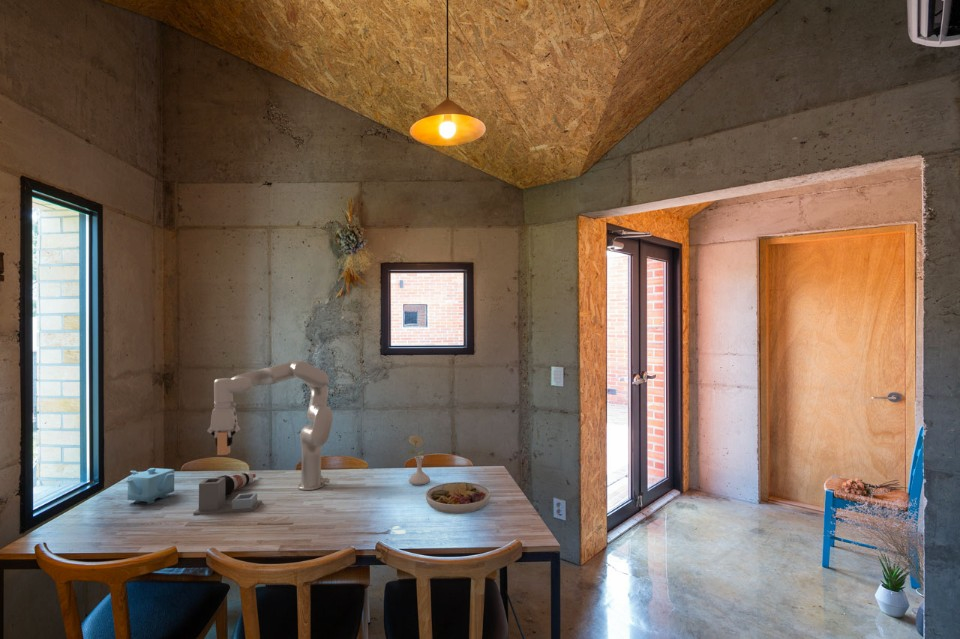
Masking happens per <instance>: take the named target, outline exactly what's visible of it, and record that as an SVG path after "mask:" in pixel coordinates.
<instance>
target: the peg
mask: <svg viewBox="0 0 960 639" xmlns="http://www.w3.org/2000/svg"><path fill="white" fill-rule="evenodd" d="M227 438H228V432H227V431H220V432H218V433H217V447H216V448H217V456H226V455H229V454H230V453H231V445H230V446H227Z"/></svg>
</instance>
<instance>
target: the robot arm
mask: <svg viewBox="0 0 960 639" xmlns="http://www.w3.org/2000/svg"><path fill="white" fill-rule="evenodd" d="M296 378H298V379H300V380H302V381H304V383H305V384H306V385H307V386H308V388H309V389H310V398H309V399H310V400H309V404H308V409H307V412H306V418H307V419H308V421H310V422H311V423H313V424H307V425H304V427H302V429H301V431H300V433H299V434H300V435H299V440H300V447H301V448H300V449H301V477H300V478H301V482H300V483H299V484H298V487H297V488H298V489H299V490H301V491H312V490H317V489H321V488H322V487H324V486H325V483H328V484H329V483H330V480H331V479H330V478H329V477H323V475H322V447H323V446H324V445H326V443H328V441H329V437H330V434H331V429H332V425H333V418H334V414H333V411H332V408H331V407H329V406H327V404H328V397H329V391H328V386H327V385H328V384H329V379H330V378H329V375H328V373H326V371H324V370H322V369H320V368H318V367H316V366H314V365H312V364H310V363H308V362H306V361H304V360H291V361H287V362H284V363H281V364H277V365H273V366H270V367H269V366H268V367H265V368H264V367H263V368H261V369H257V370H252V371H248V372H244V373H240V374H237V375H235V376H232V377H231V378H230V377H223V378H216V379H215V380H214V381H213V409H212V412H211V415H210V416H211V417H210V426H209V427H208V429H207V430H206V432H207V433H209V434H211V435H212V436H213V437H214V438H215V442H214V443H215V446H216V448H217V433H218V432H220V431H227V432H228V438H227V446H230V447H231V445H232V444H233V436H234V435H235V434H236V433H238V432H239V431H240V430H241V427H240V426H239V424H238V416H237V411H236V406H237V402H234V394H246V393H248V392H249V391H251V390H252V389H253V388H254V387H257V386H264V385H265V386H267V385H268V386H269V385H274V384H275V385H276V384H278V383H281V382H284V381H287V380H291V379H296ZM234 406H235V407H234Z"/></svg>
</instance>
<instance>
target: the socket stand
mask: <svg viewBox="0 0 960 639" xmlns="http://www.w3.org/2000/svg"><path fill="white" fill-rule="evenodd" d="M262 502H263V500H262V499H260V500H259V499H258V492H253V493H251V492H249V493H238V494H237V495H236V496H235V498H233V499H232V501H227V502H226V497H225V477H222V478H217V477H207V478H205V479H204V480H202V481H201V482H200V483H198V508H197V509H196V510H195V511H194V512H193V513H192V514H193V516H201V515H202V516H203V515H217V514H232V513H233V514H235V513H247V512H248V513H249V512H255V511H256V510H257V508H259V507H260V505H261V504H262Z"/></svg>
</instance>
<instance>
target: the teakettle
mask: <svg viewBox="0 0 960 639" xmlns="http://www.w3.org/2000/svg"><path fill="white" fill-rule="evenodd" d="M130 473H131V474H132V475H130V476H128V477H127V479H126V480H124V483H127V501H134V503H136V504H137V503H142V502H146V504H147V505H148V504H149V505H150V504H154V503H155V500H156V499H159V498H160V499H165V498H169V496H168V494H171V493H174V492H175V469H172V468H158V467H157V468H156V467H150V468H148V469H147V470H144V471H141V472H139V473H138V471H137V470H130Z"/></svg>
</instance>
